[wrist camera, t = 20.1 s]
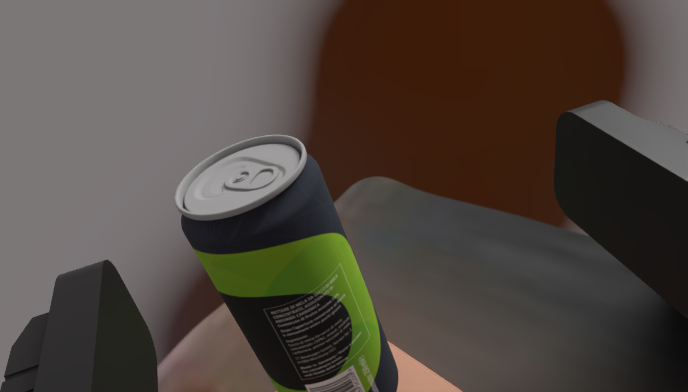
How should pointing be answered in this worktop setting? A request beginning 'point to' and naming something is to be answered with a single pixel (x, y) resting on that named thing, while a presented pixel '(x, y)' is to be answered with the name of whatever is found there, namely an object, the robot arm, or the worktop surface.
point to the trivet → (417, 375)
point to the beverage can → (286, 267)
